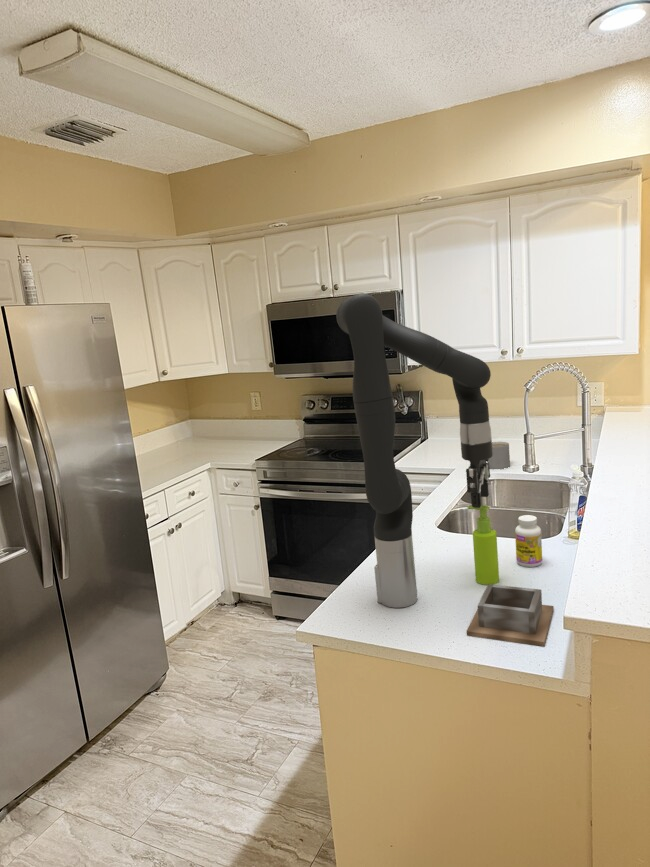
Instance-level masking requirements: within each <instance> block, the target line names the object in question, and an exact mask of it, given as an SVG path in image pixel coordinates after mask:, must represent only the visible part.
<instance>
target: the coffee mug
mask: <svg viewBox="0 0 650 867" xmlns="http://www.w3.org/2000/svg"><path fill="white" fill-rule="evenodd" d="M492 452H493V456H492V457H491V458H490V459H489V468H490V470H494V469H500V470H505V469H504V468H506V469H509V468H511V461H510V460H511V459H510V457H511V456H510V443H509V442H506V441H492ZM508 467H509V468H508Z"/></svg>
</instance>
